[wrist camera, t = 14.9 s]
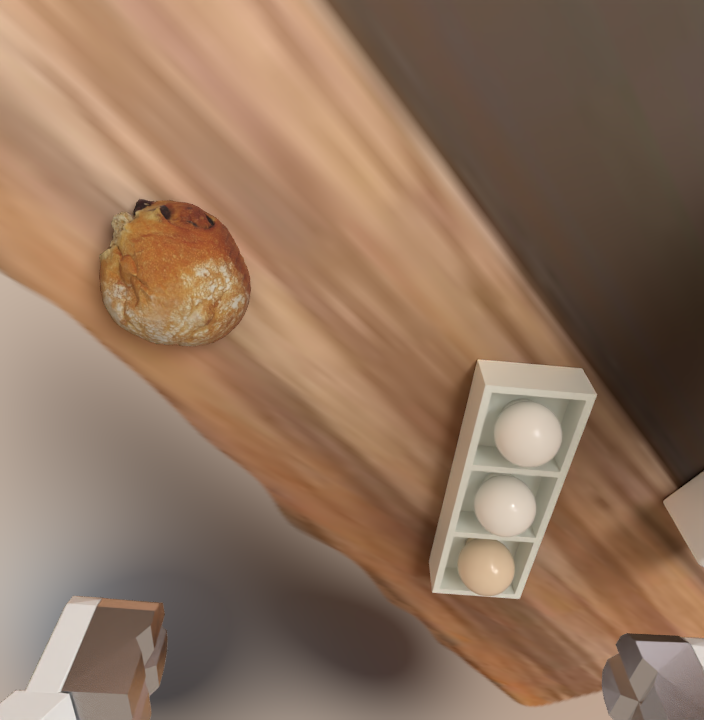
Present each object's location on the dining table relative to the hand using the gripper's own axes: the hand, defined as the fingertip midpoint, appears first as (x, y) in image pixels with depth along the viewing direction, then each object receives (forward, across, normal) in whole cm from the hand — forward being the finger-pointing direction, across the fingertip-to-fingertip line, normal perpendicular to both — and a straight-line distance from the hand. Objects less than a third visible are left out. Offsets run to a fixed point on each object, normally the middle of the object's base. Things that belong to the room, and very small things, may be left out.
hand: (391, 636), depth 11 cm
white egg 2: (+32, -14, +26) cm, 43 cm away
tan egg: (+32, -14, +33) cm, 48 cm away
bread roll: (+34, +13, +8) cm, 37 cm away
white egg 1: (+32, -14, +18) cm, 39 cm away
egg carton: (+33, -14, +26) cm, 44 cm away
